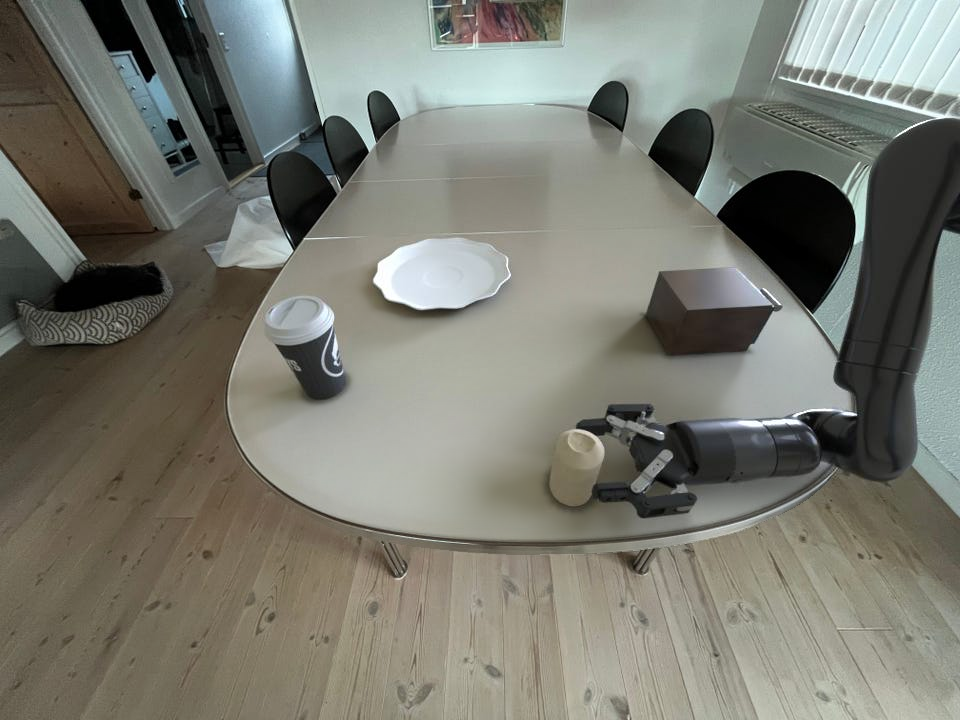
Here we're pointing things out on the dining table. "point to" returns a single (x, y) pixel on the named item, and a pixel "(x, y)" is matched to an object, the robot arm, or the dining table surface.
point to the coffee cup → (307, 344)
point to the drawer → (775, 308)
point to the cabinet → (706, 310)
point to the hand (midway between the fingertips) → (584, 458)
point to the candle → (575, 466)
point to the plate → (441, 274)
